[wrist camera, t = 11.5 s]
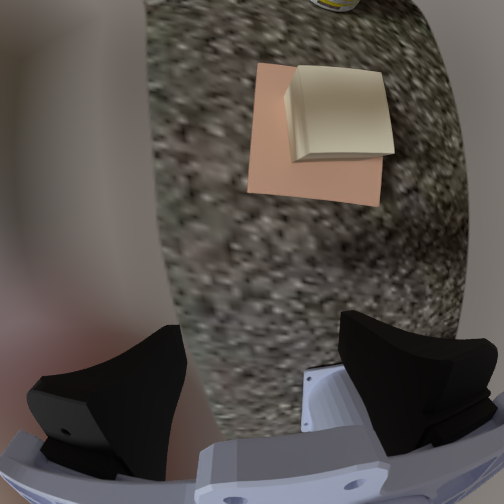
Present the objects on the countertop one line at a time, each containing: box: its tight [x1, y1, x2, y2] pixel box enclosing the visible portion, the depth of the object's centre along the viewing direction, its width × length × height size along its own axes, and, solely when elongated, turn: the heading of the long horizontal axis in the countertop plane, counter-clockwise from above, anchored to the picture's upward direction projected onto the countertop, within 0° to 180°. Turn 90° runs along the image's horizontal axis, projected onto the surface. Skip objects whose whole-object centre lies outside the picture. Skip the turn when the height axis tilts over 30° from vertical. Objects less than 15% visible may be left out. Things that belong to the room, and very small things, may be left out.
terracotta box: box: [247, 63, 383, 207], centre depth 18 cm, size 9×9×4 cm
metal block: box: [284, 65, 395, 163], centre depth 14 cm, size 4×4×5 cm
